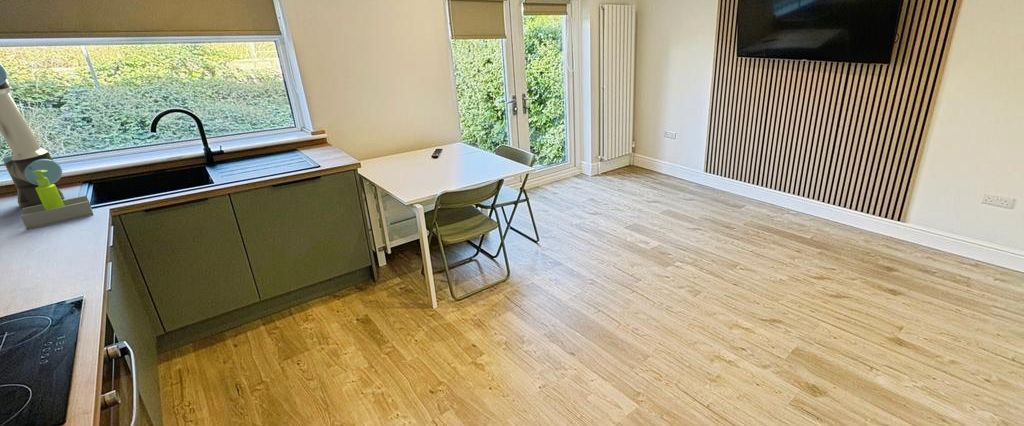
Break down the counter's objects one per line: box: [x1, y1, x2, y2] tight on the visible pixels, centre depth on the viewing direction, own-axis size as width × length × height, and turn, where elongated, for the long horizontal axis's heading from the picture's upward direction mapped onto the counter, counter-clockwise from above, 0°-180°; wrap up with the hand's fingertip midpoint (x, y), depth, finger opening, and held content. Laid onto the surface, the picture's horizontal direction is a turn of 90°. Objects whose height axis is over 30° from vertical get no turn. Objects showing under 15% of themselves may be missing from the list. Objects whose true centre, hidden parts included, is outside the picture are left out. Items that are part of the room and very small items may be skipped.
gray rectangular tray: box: [20, 195, 94, 231], centre depth 188 cm, size 12×20×6 cm, turn 134°
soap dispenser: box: [33, 170, 65, 210], centre depth 184 cm, size 6×7×20 cm
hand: (0, 144), depth 179 cm, fingers open, 13 cm apart
